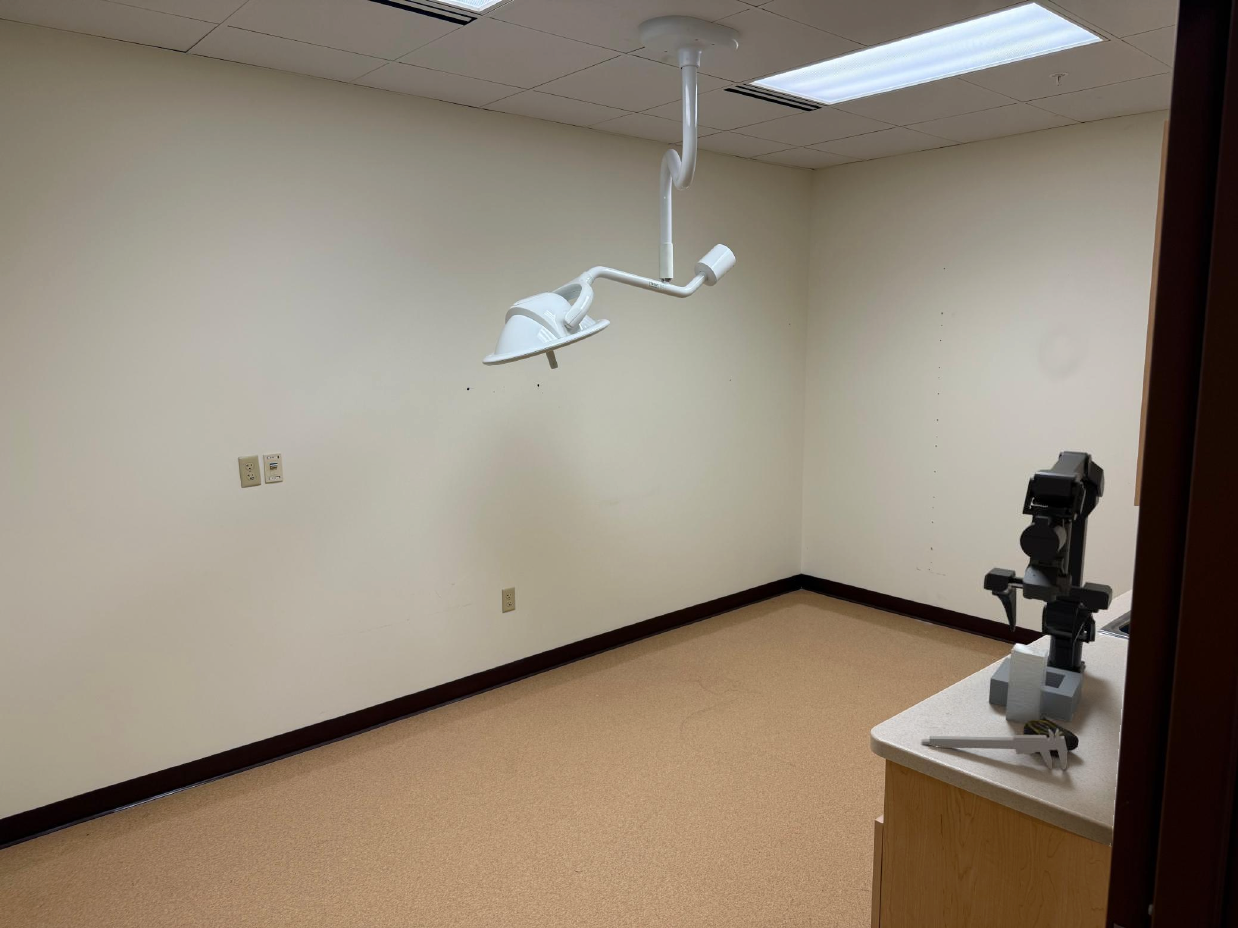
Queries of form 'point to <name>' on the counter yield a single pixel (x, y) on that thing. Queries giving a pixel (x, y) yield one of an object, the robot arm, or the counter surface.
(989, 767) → the counter surface
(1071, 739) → the tape measure
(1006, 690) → the block
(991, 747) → the caliper
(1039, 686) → the light gray rectangular block
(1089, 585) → the robot arm
